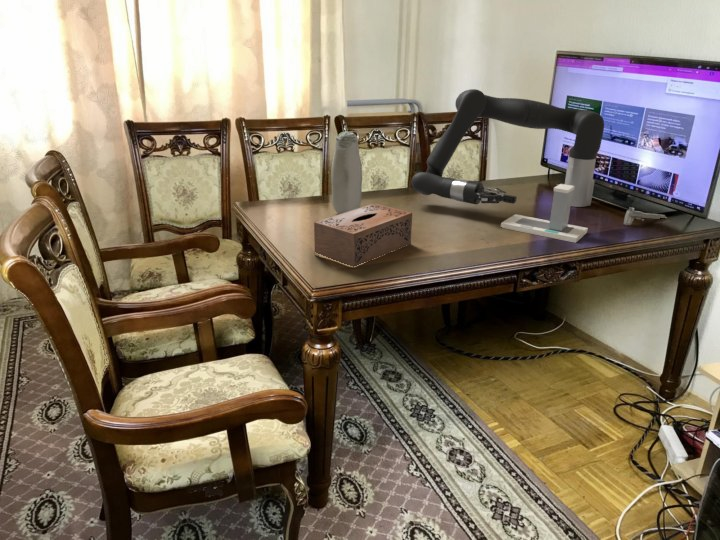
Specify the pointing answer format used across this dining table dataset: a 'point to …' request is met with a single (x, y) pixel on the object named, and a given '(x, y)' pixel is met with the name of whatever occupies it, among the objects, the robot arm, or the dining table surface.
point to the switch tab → (561, 207)
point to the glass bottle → (346, 173)
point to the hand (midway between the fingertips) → (515, 200)
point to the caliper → (639, 216)
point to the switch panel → (543, 228)
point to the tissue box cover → (362, 233)
